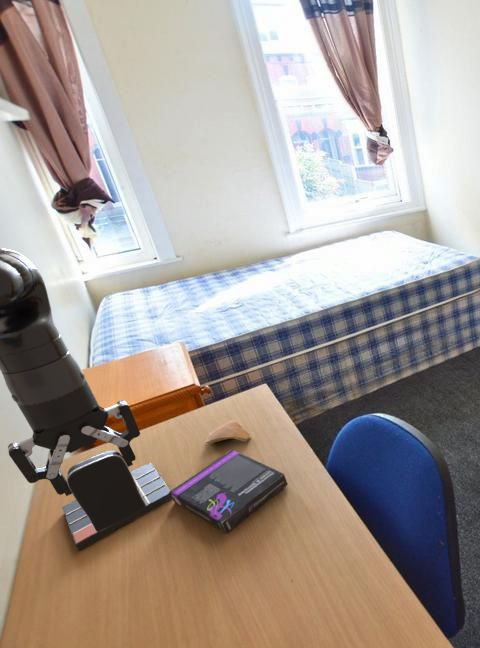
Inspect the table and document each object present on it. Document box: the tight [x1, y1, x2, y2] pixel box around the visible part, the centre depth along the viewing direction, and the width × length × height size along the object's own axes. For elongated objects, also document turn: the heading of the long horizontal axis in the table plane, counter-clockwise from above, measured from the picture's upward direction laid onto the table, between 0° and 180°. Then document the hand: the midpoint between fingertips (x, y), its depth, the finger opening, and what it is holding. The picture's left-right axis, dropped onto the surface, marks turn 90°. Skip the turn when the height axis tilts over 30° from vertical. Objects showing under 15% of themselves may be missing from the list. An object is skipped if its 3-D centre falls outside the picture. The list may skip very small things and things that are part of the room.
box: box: [169, 449, 288, 534], centre depth 98 cm, size 14×4×20 cm
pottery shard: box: [205, 420, 252, 445], centre depth 117 cm, size 10×9×2 cm
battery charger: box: [66, 450, 146, 531], centre depth 74 cm, size 7×4×11 cm, turn 135°
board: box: [61, 462, 173, 551], centre depth 99 cm, size 16×16×2 cm
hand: (100, 477), depth 73 cm, fingers closed on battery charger, 7 cm apart
